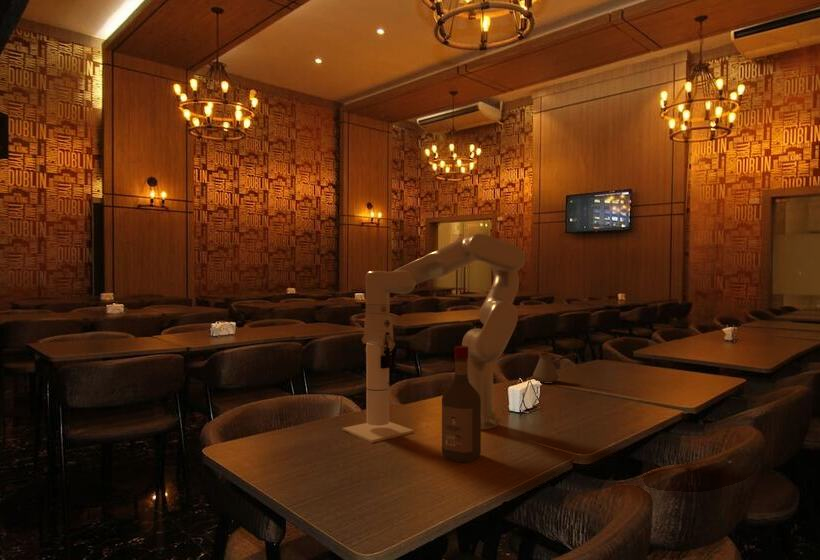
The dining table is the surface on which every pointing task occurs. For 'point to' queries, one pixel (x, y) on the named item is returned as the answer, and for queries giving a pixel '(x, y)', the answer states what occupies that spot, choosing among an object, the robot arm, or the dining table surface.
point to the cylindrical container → (376, 387)
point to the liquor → (461, 414)
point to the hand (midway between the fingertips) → (377, 365)
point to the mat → (377, 431)
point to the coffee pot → (547, 368)
